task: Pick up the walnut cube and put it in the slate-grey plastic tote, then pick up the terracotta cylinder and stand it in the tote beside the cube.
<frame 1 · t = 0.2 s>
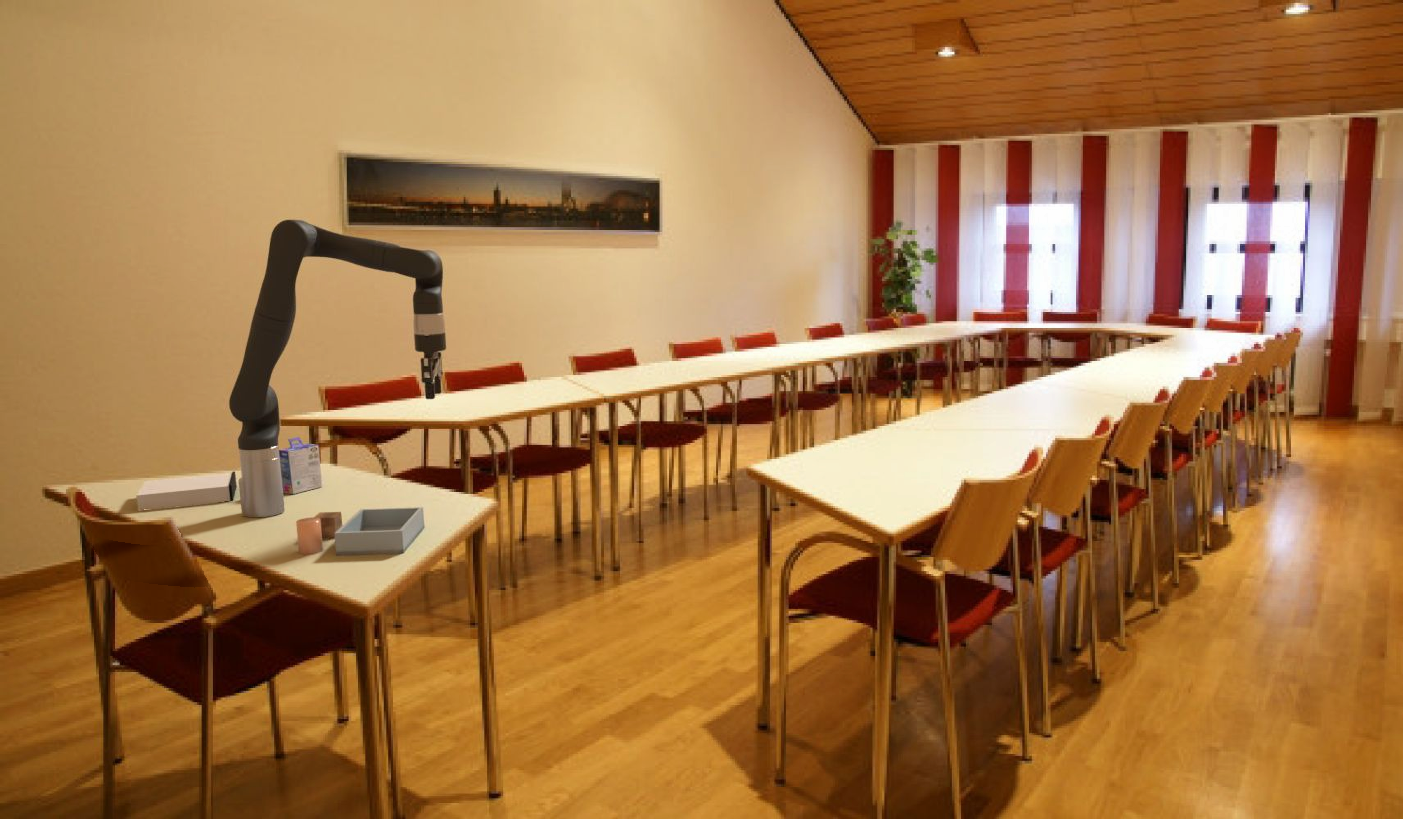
hand: (433, 396, 252), 29 cm above the table, fingers open, 8 cm apart
ink cartridge box: (302, 490, 279), on the table
tote: (382, 540, 229), on the table
cube: (328, 535, 234), on the table
cylinder: (311, 551, 223), on the table
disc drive: (190, 501, 272), on the table
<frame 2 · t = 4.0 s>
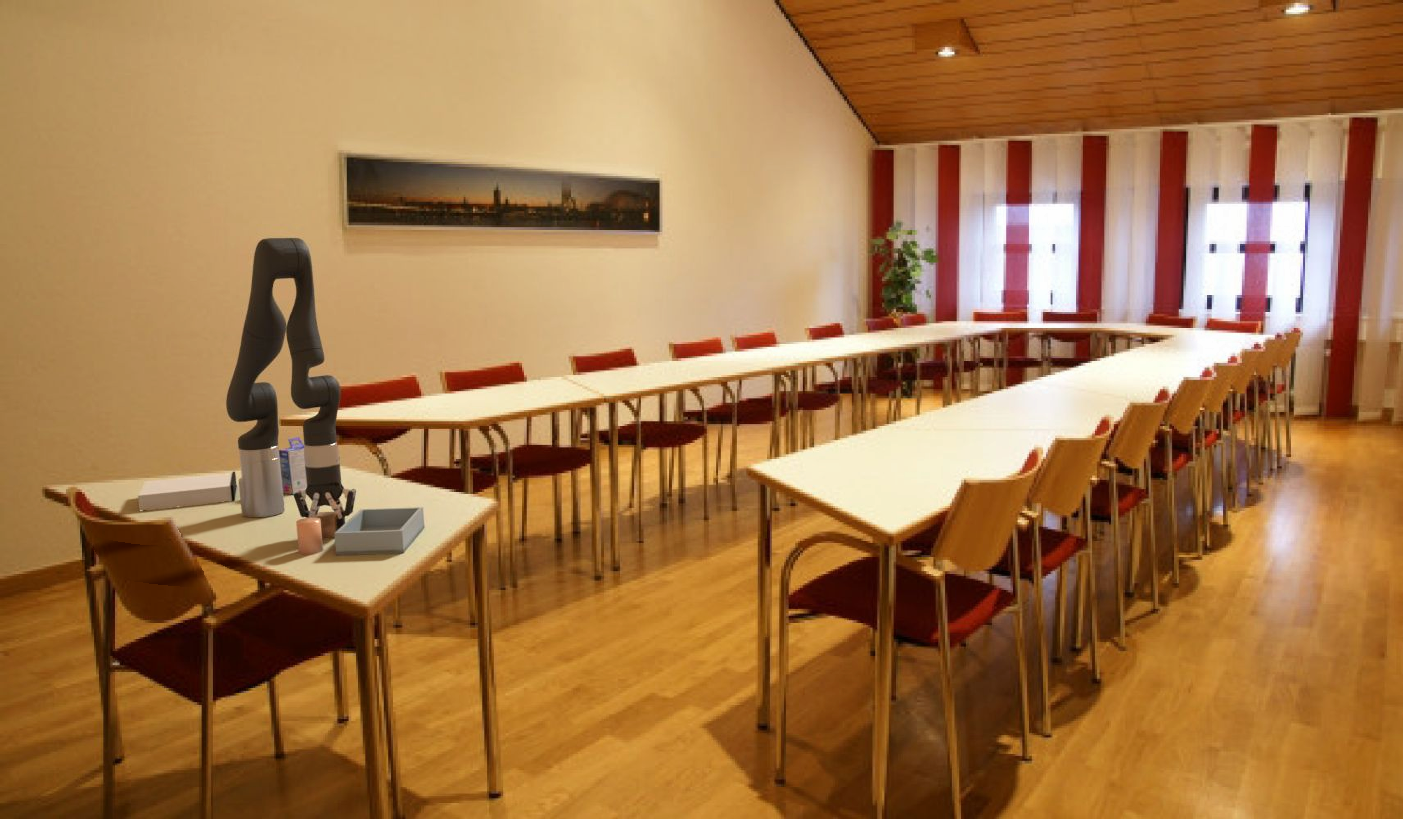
hand: (328, 533, 234), 0 cm above the table, fingers closed on cube, 5 cm apart
cube: (328, 535, 234), on the table, touching gripper
everything else where it was.
when the fingers open (3 cm above the table, at t = 8.9 s): cube drops 1 cm, resting on tote.
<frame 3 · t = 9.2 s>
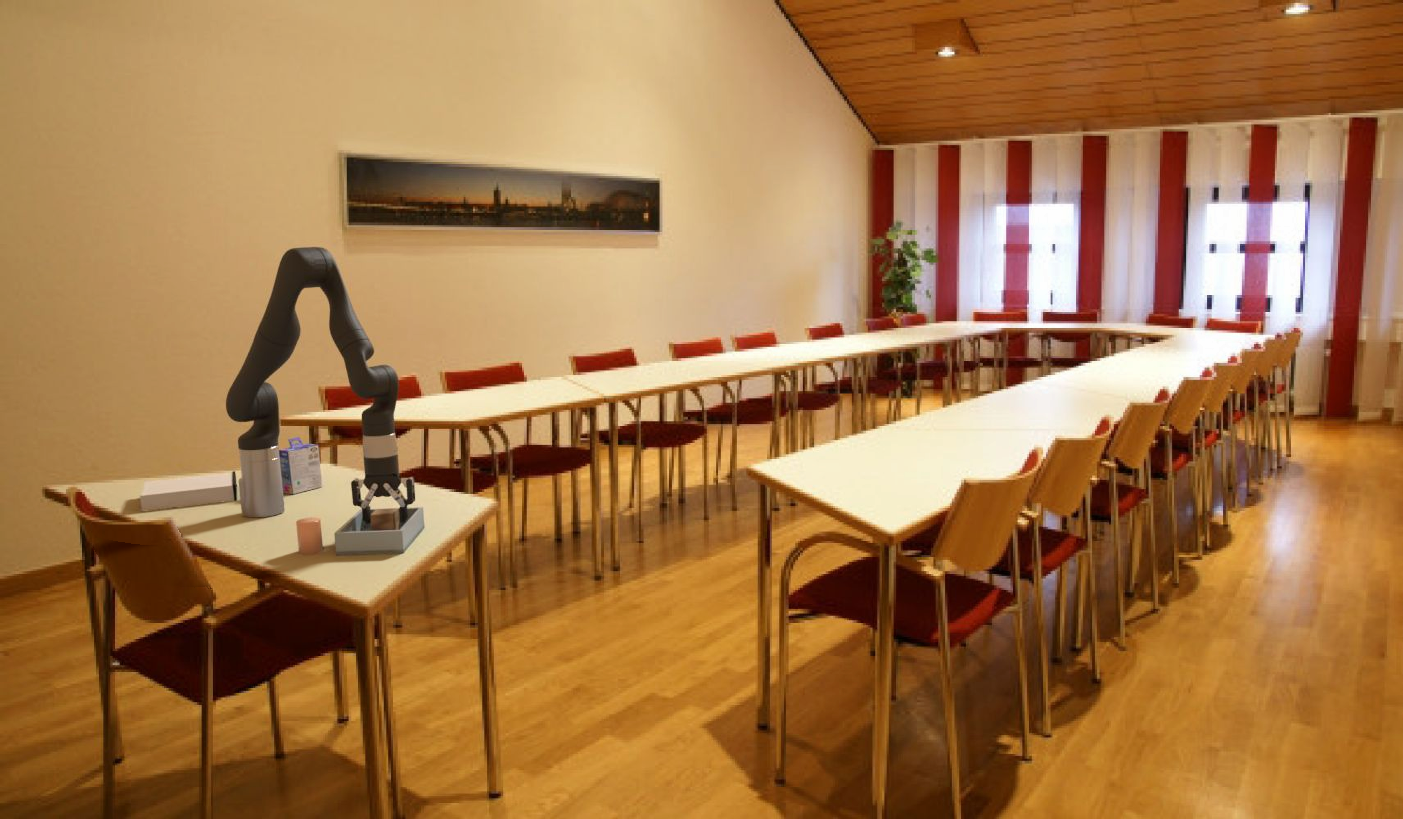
hand: (385, 522, 232), 3 cm above the table, fingers open, 7 cm apart
cube: (386, 532, 233), point 1 cm above the table, touching tote
everything else where it was.
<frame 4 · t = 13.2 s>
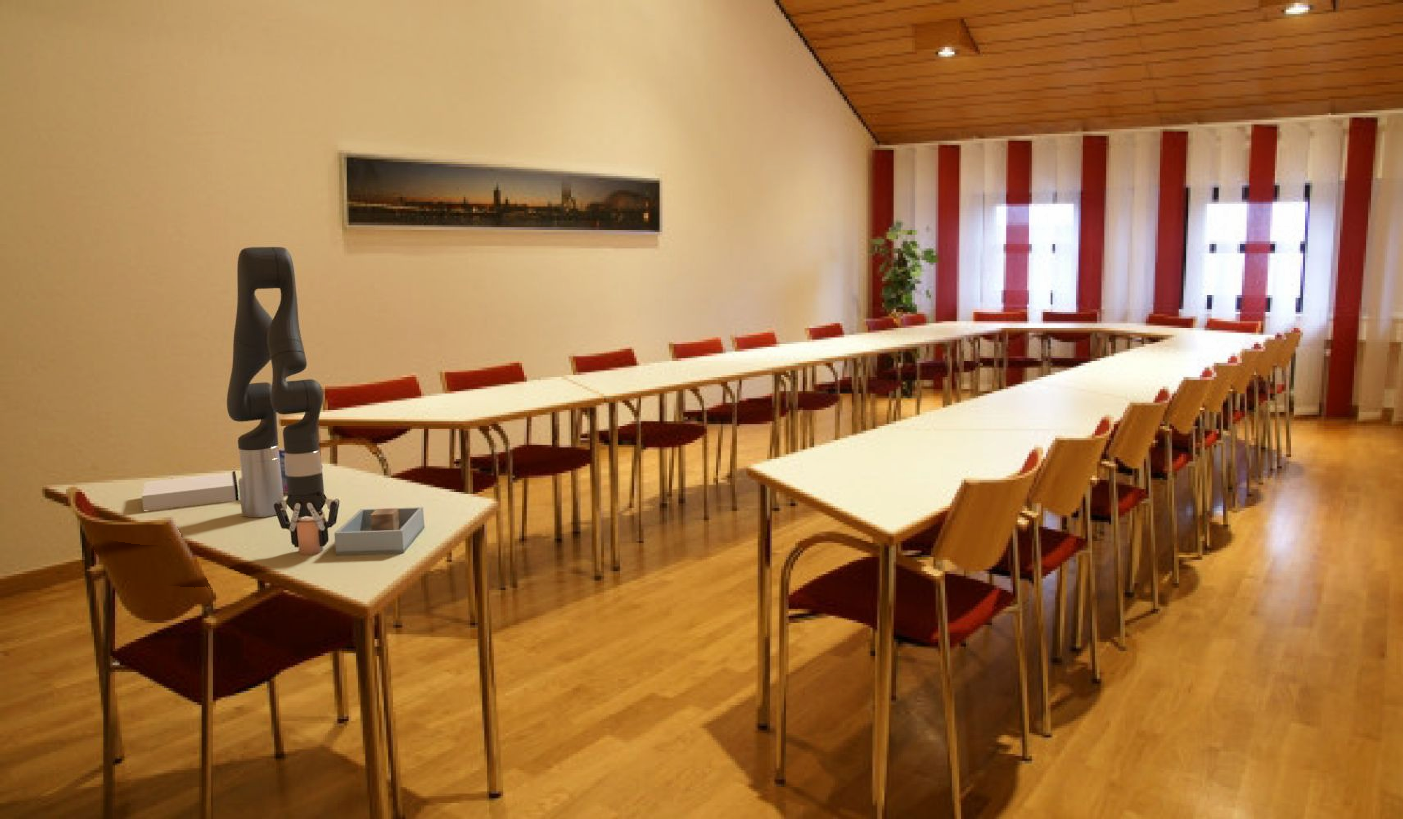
hand: (310, 545, 222), 1 cm above the table, fingers closed on cylinder, 5 cm apart
cylinder: (311, 551, 223), on the table, touching gripper
everything else where it was.
when the fingers open (3 cm above the table, at t = 18.2 s): cylinder stays where it is, resting on tote.
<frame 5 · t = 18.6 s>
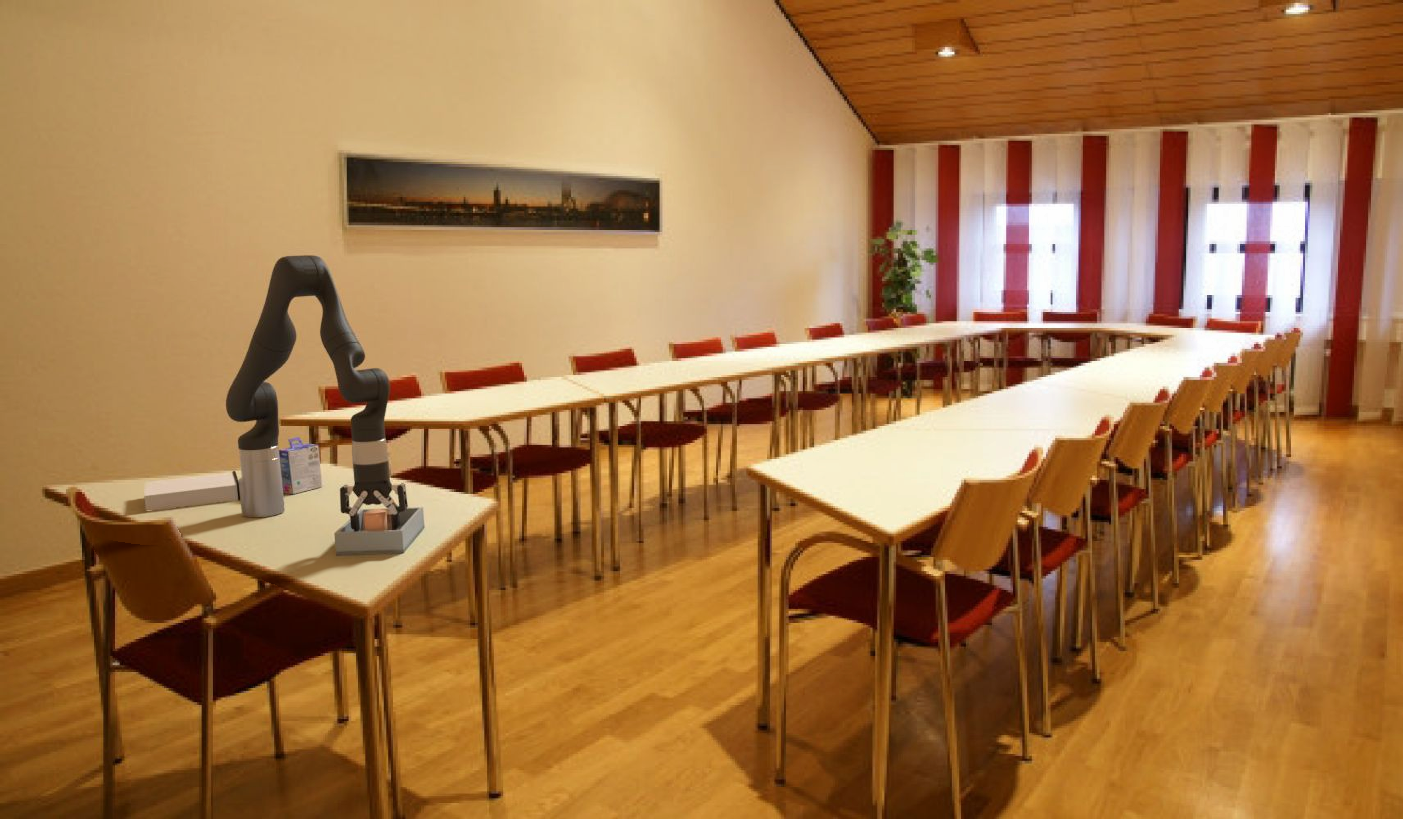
hand: (376, 530, 224), 4 cm above the table, fingers open, 8 cm apart
cylinder: (376, 542, 225), point 1 cm above the table, touching tote
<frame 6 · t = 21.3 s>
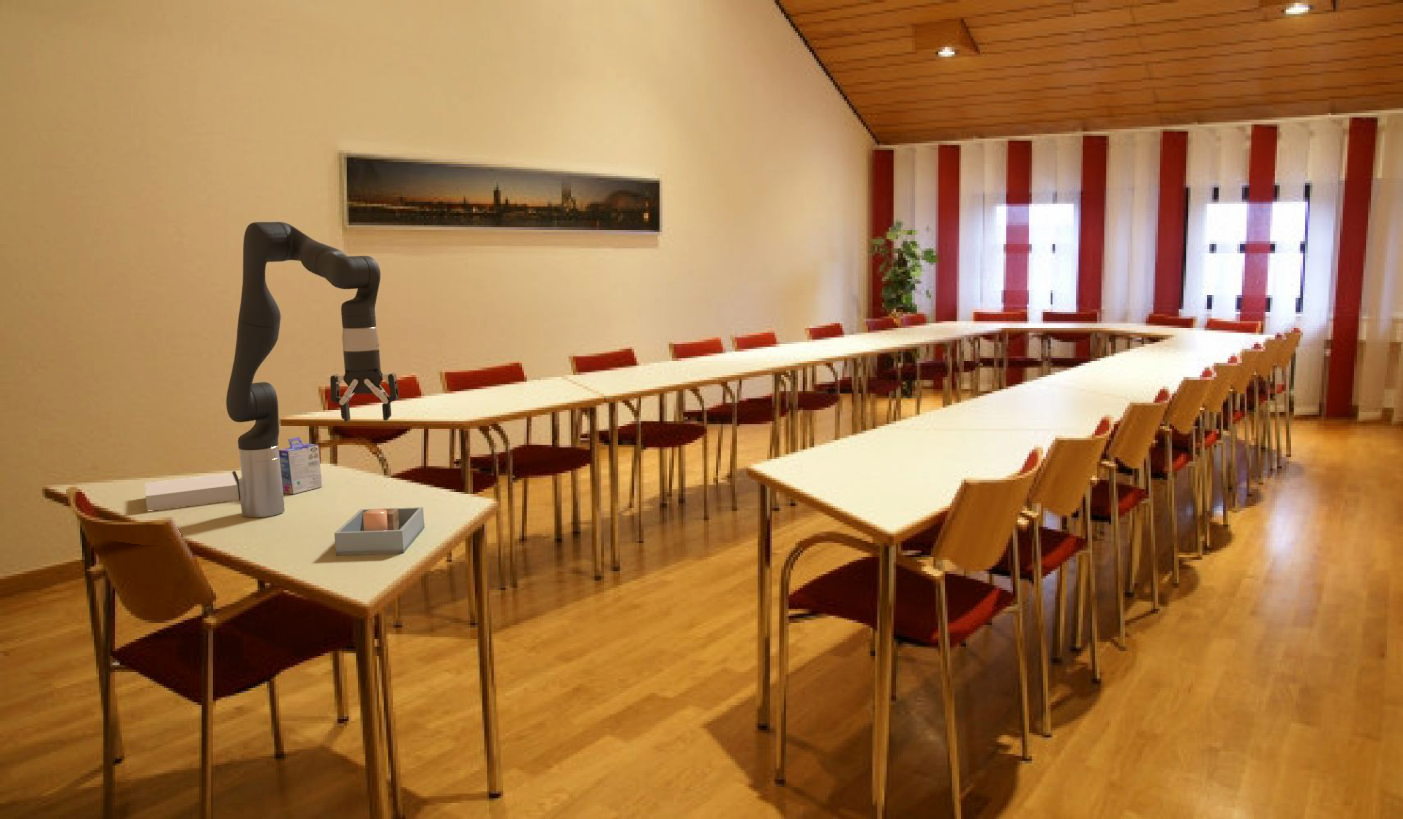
hand: (366, 420, 223), 28 cm above the table, fingers open, 8 cm apart
at the end: cube inside the target area on the tote (4.0 cm from its centre), point 0.8 cm above the tote's base; cylinder inside the target area on the tote (4.0 cm from its centre), point 0.9 cm above the tote's base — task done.
